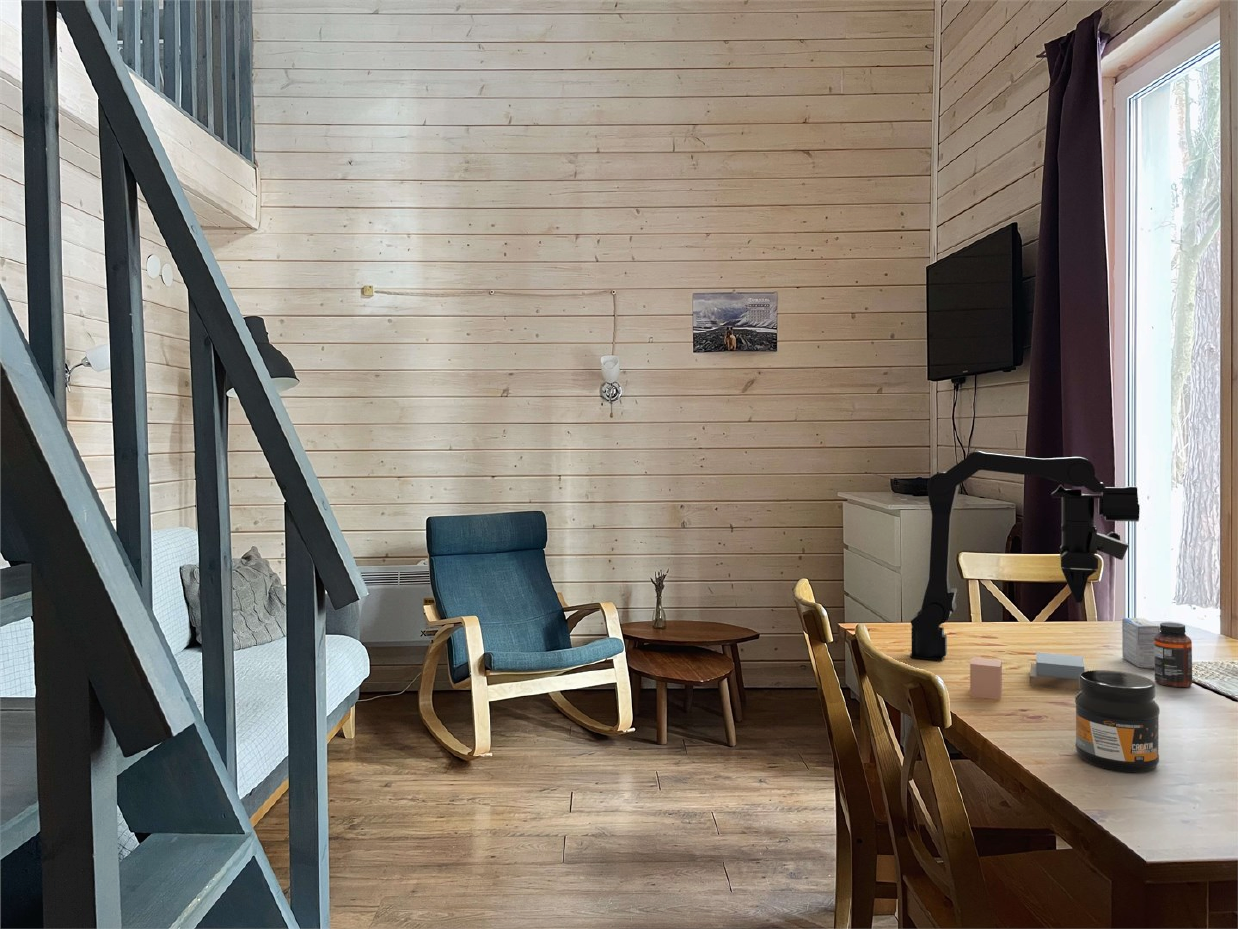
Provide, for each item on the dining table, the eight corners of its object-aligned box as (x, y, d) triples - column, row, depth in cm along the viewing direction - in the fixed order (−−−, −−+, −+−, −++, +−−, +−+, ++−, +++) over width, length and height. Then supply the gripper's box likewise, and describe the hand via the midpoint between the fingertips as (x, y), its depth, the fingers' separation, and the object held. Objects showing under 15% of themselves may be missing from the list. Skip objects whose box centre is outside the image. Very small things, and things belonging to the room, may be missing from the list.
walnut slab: (1029, 689, 157) (1029, 676, 157) (1031, 675, 166) (1031, 663, 166) (1090, 696, 153) (1090, 682, 153) (1088, 681, 162) (1088, 669, 162)
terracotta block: (970, 696, 152) (970, 663, 151) (972, 689, 156) (972, 657, 156) (1000, 700, 149) (1000, 666, 149) (1001, 692, 154) (1001, 660, 153)
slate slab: (1036, 675, 158) (1036, 662, 158) (1036, 664, 165) (1036, 652, 165) (1084, 680, 154) (1084, 667, 154) (1082, 669, 161) (1082, 656, 161)
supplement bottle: (1186, 680, 159) (1186, 621, 158) (1196, 689, 153) (1197, 628, 153) (1150, 678, 161) (1150, 620, 160) (1159, 687, 155) (1159, 626, 155)
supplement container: (1101, 776, 115) (1101, 690, 115) (1060, 747, 126) (1060, 669, 126) (1176, 774, 116) (1177, 689, 115) (1130, 746, 126) (1130, 668, 126)
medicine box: (1161, 669, 167) (1161, 626, 167) (1136, 668, 168) (1137, 625, 167) (1144, 658, 175) (1145, 617, 174) (1121, 658, 175) (1121, 617, 175)
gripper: (1129, 526, 153) (1129, 610, 153) (1121, 517, 170) (1121, 593, 170) (1060, 524, 158) (1060, 606, 159) (1060, 515, 175) (1060, 589, 175)
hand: (1078, 598), depth 165 cm, fingers open, 9 cm apart
